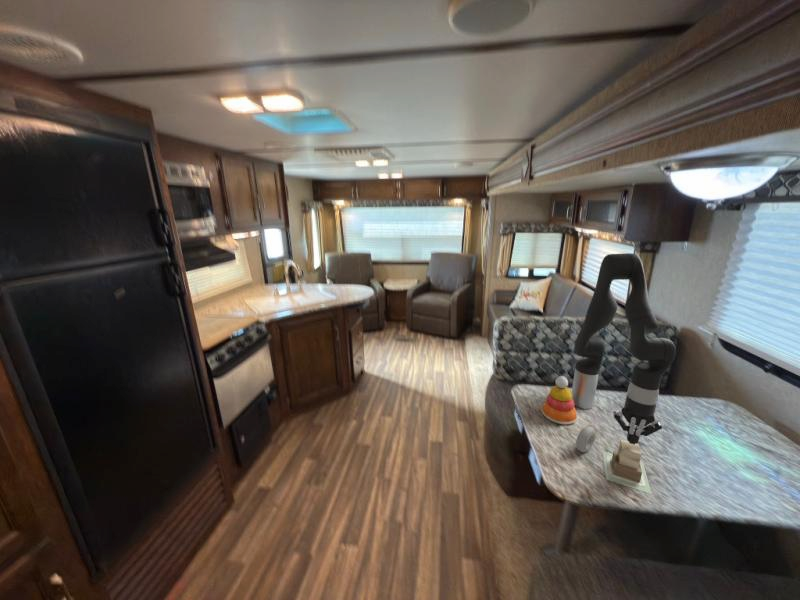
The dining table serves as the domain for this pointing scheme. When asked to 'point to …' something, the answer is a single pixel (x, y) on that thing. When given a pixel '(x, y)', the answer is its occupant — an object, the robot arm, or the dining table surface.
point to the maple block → (629, 454)
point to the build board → (610, 475)
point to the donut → (585, 439)
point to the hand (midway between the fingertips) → (631, 442)
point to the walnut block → (625, 469)
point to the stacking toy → (560, 404)
